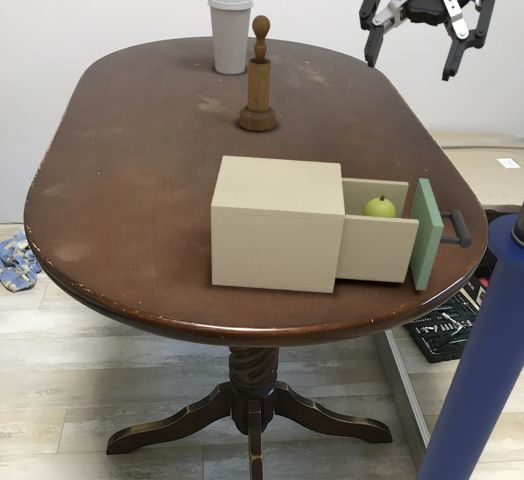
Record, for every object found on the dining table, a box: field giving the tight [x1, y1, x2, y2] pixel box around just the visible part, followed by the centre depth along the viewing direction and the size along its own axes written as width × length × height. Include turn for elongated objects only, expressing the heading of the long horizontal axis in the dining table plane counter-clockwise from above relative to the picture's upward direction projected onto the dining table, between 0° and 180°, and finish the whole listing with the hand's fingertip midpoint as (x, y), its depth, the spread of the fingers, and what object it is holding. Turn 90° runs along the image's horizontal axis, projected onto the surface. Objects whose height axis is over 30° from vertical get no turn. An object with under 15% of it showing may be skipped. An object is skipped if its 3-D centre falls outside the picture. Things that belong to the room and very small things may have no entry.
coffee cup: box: [207, 0, 254, 75], centre depth 126 cm, size 10×10×15 cm
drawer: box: [335, 177, 473, 291], centre depth 73 cm, size 18×12×9 cm, turn 87°
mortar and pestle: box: [239, 14, 277, 132], centre depth 103 cm, size 7×6×18 cm
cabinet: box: [210, 155, 345, 294], centre depth 73 cm, size 15×13×11 cm
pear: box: [359, 195, 396, 218], centre depth 73 cm, size 6×6×8 cm
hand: (407, 70), depth 66 cm, fingers open, 8 cm apart
